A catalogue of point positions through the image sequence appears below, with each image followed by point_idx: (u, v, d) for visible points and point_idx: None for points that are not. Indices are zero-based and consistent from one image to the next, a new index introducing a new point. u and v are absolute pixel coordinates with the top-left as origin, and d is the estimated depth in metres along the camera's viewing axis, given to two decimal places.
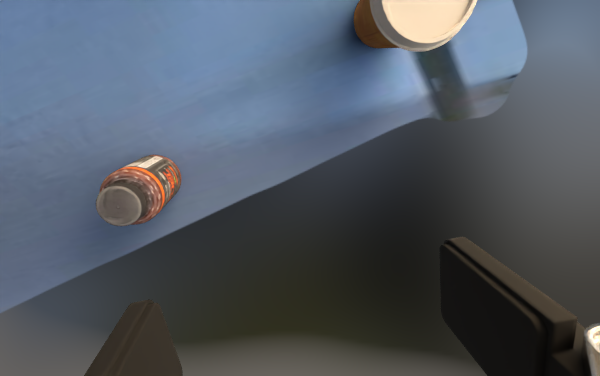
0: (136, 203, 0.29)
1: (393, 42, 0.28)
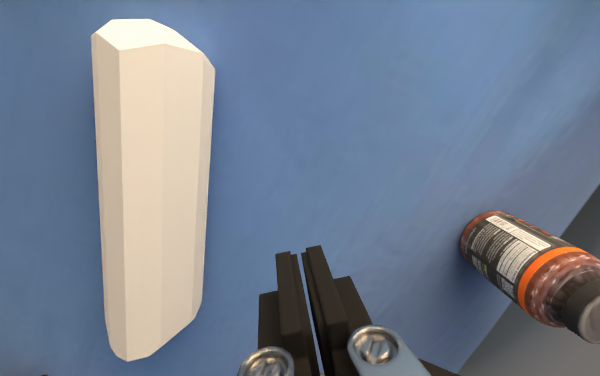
0: None
1: None
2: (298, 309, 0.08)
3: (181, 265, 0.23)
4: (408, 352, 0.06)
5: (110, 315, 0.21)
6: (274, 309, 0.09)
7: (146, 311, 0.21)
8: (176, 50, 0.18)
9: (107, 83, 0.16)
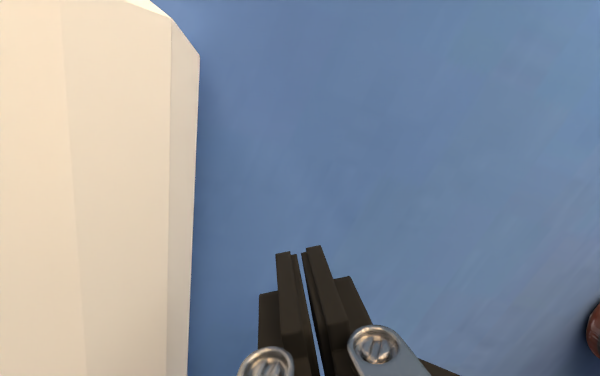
0: None
1: None
2: (298, 309, 0.08)
3: None
4: (408, 352, 0.06)
5: None
6: (274, 309, 0.09)
7: None
8: None
9: None
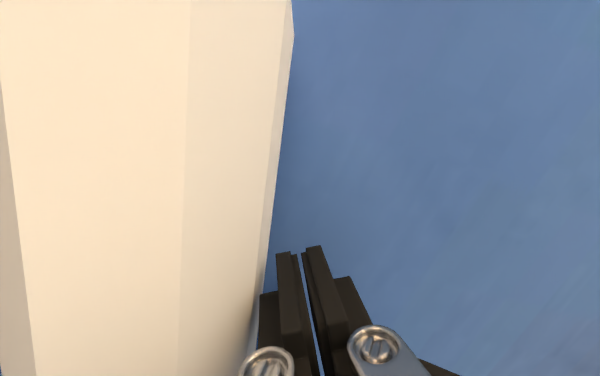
0: None
1: None
2: (298, 309, 0.08)
3: None
4: (408, 352, 0.06)
5: None
6: (274, 309, 0.09)
7: None
8: None
9: None
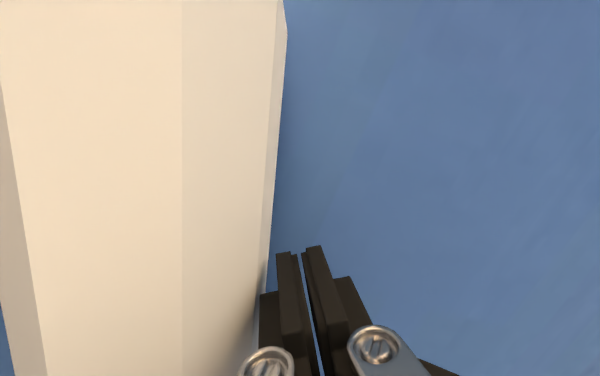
0: None
1: None
2: (298, 309, 0.08)
3: None
4: (408, 352, 0.06)
5: None
6: (274, 309, 0.09)
7: None
8: None
9: None
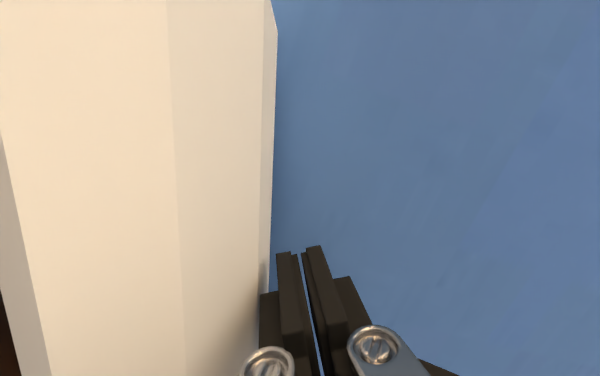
0: None
1: None
2: (299, 309, 0.08)
3: None
4: (408, 352, 0.06)
5: None
6: (275, 309, 0.09)
7: None
8: None
9: None
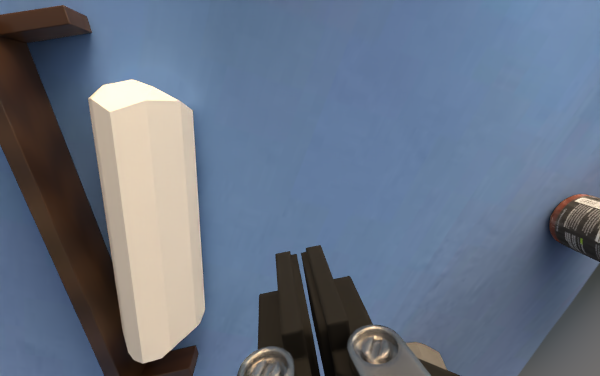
0: None
1: None
2: (298, 309, 0.08)
3: (181, 278, 0.27)
4: (408, 352, 0.06)
5: (125, 325, 0.25)
6: (274, 309, 0.09)
7: (155, 319, 0.25)
8: (155, 103, 0.22)
9: (104, 137, 0.21)
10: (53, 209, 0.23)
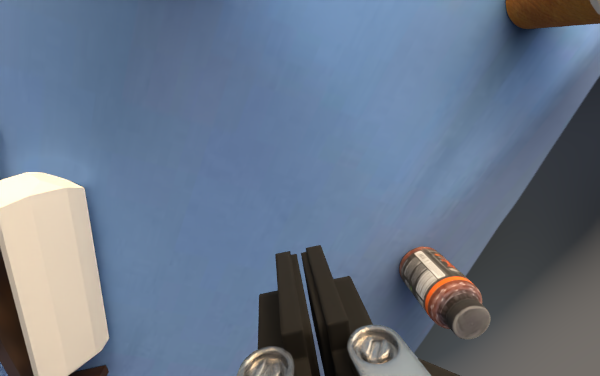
0: (484, 311, 0.31)
1: None
2: (298, 309, 0.08)
3: (76, 318, 0.34)
4: (408, 352, 0.06)
5: (29, 356, 0.33)
6: (274, 309, 0.09)
7: (50, 352, 0.32)
8: (40, 195, 0.29)
9: None
10: None
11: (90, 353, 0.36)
